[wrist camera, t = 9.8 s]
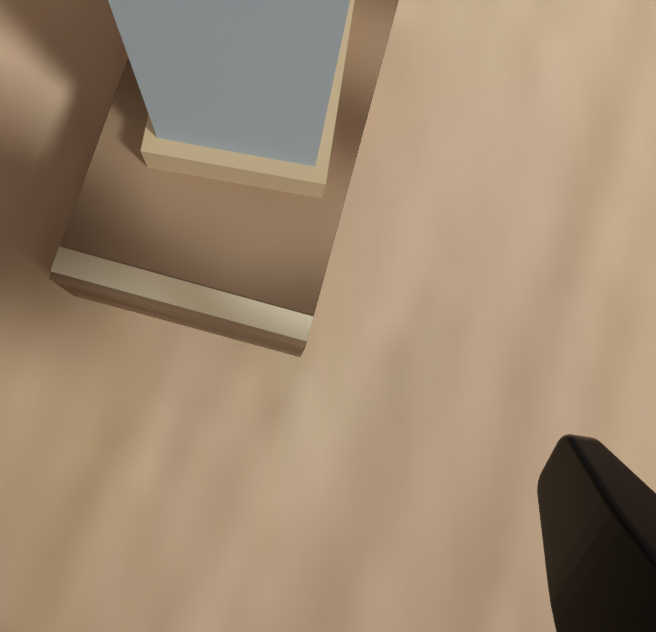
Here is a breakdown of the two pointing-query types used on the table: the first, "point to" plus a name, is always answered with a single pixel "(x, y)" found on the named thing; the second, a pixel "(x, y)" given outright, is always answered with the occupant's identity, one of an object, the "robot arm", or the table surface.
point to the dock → (215, 221)
